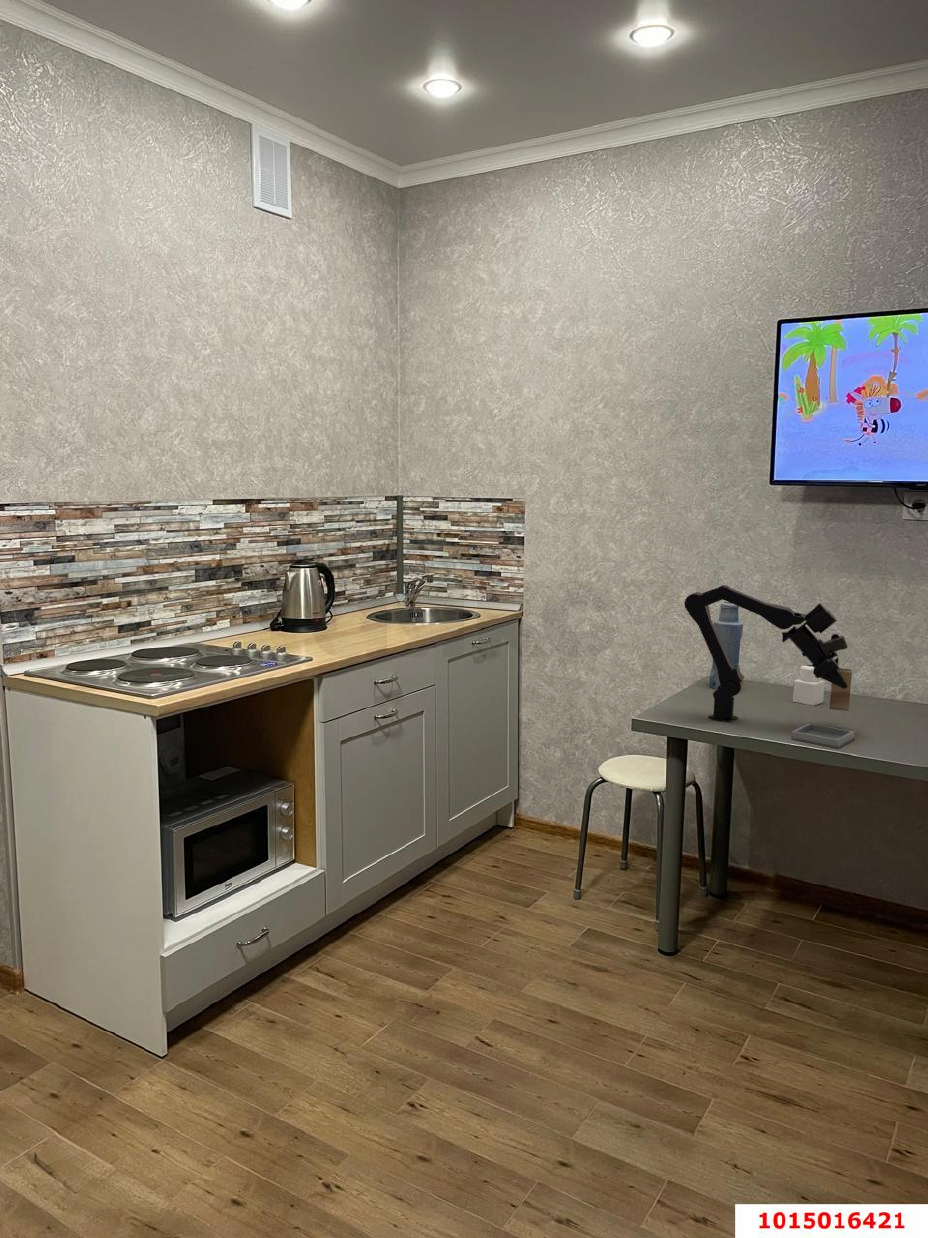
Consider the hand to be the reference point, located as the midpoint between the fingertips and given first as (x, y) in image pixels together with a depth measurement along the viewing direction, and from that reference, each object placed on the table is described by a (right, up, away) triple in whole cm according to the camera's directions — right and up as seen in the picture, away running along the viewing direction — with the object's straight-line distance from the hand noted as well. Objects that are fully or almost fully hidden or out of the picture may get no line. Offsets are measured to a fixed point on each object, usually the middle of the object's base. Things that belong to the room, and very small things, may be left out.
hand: (846, 685), depth 261 cm
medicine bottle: (+3, -8, +38) cm, 39 cm away
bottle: (-19, -5, +57) cm, 60 cm away
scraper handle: (-1, -6, +2) cm, 7 cm away
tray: (-9, -14, -6) cm, 18 cm away
